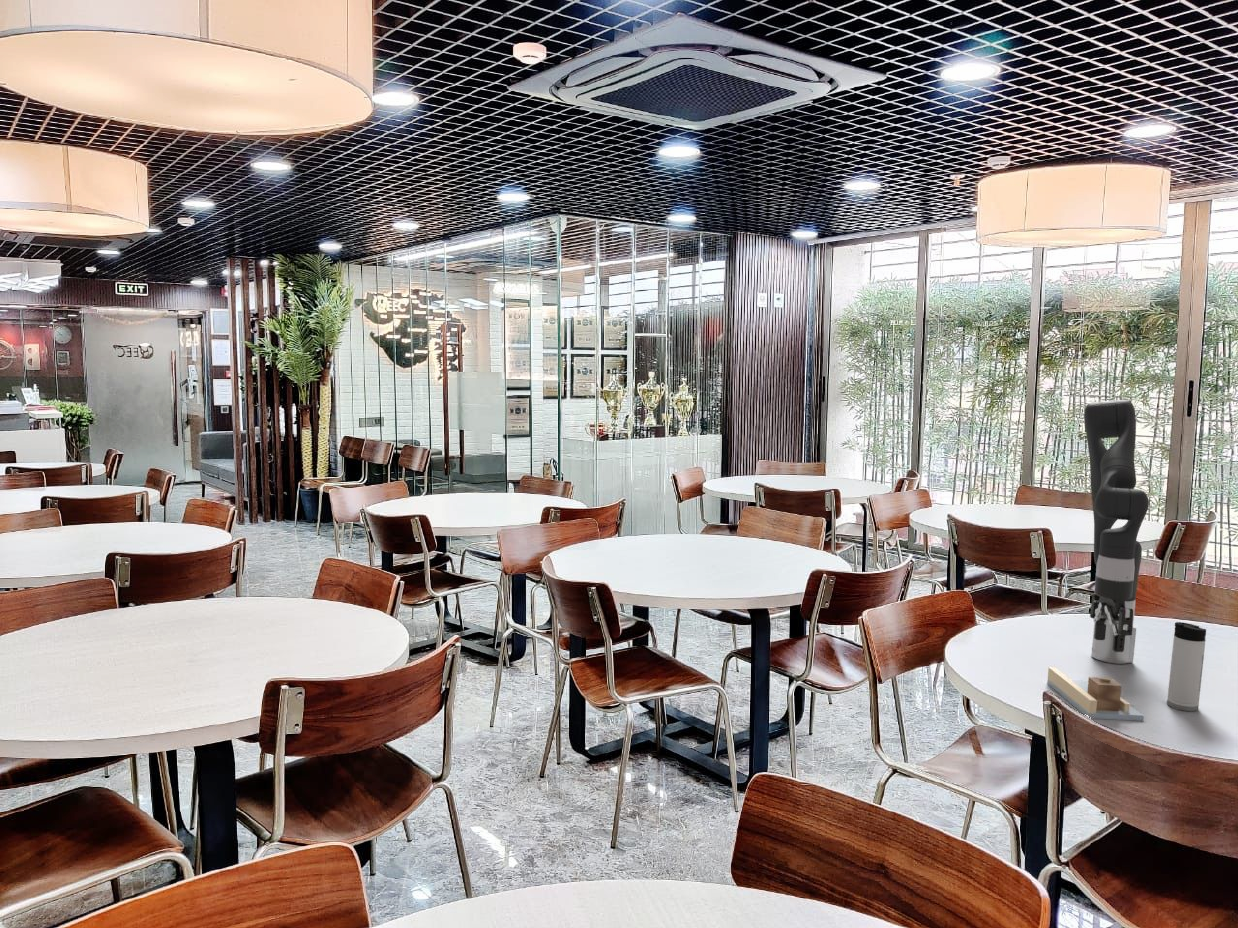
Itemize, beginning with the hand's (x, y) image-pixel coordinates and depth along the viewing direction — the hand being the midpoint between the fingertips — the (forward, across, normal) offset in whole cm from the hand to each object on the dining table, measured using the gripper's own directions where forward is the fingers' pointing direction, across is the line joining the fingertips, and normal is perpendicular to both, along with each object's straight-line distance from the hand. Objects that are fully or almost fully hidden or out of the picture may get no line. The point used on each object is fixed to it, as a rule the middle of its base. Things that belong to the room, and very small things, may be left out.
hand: (1108, 645), depth 205 cm
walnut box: (+14, 0, 0) cm, 15 cm away
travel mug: (+16, +5, -21) cm, 27 cm away
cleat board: (+16, +6, -1) cm, 17 cm away
